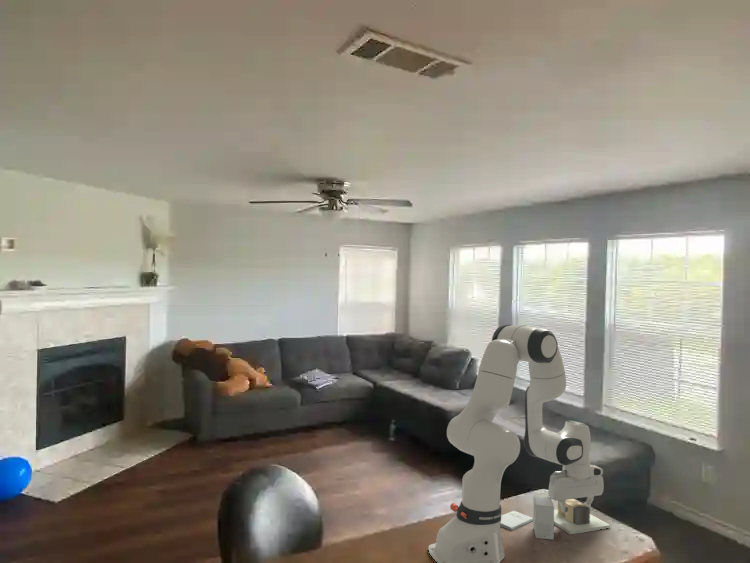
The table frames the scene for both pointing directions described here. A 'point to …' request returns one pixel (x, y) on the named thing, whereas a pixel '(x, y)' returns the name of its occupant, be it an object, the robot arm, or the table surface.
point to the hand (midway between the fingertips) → (575, 510)
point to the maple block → (575, 512)
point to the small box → (543, 518)
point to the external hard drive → (514, 520)
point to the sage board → (573, 528)
